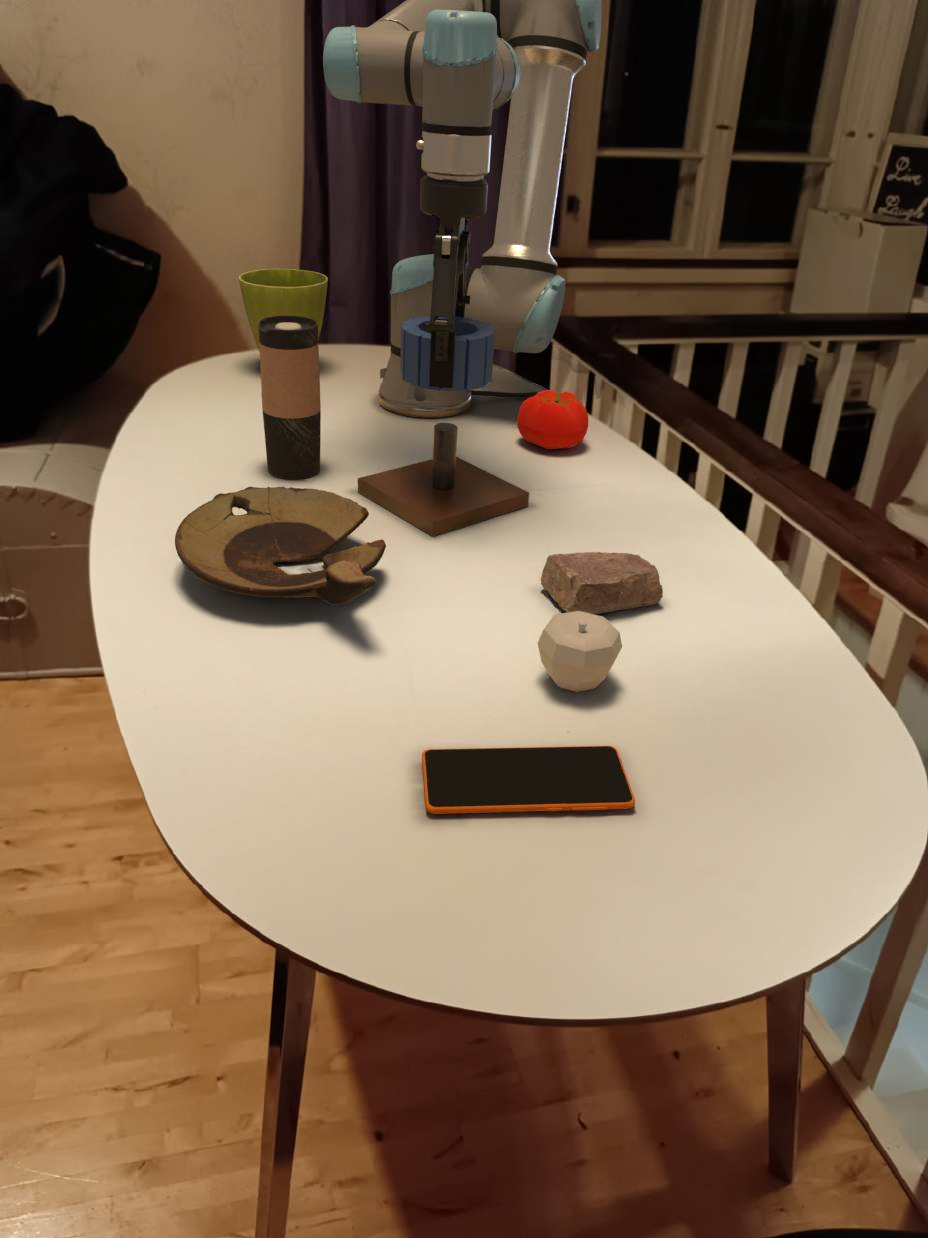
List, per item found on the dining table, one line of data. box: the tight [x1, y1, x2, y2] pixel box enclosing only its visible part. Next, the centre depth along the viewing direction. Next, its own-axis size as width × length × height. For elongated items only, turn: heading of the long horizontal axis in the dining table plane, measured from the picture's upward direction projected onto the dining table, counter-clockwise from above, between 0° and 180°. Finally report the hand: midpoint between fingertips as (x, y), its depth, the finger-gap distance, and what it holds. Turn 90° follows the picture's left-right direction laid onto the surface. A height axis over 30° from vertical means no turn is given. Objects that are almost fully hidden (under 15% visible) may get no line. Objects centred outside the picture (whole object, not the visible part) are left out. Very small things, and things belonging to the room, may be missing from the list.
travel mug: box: [258, 315, 322, 481], centre depth 126 cm, size 8×8×20 cm
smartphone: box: [421, 745, 636, 815], centre depth 78 cm, size 8×17×1 cm, turn 95°
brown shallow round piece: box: [174, 486, 387, 606], centre depth 103 cm, size 22×30×8 cm
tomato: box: [516, 389, 589, 451], centre depth 144 cm, size 11×11×8 cm
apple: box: [537, 611, 623, 693], centre depth 89 cm, size 8×8×7 cm
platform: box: [357, 422, 530, 537], centre depth 123 cm, size 16×16×10 cm
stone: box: [540, 551, 664, 615], centre depth 104 cm, size 12×9×5 cm
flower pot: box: [238, 268, 329, 353], centre depth 166 cm, size 15×15×16 cm
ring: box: [400, 316, 495, 391], centre depth 115 cm, size 11×11×6 cm
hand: (446, 371), depth 117 cm, fingers closed on ring, 11 cm apart
